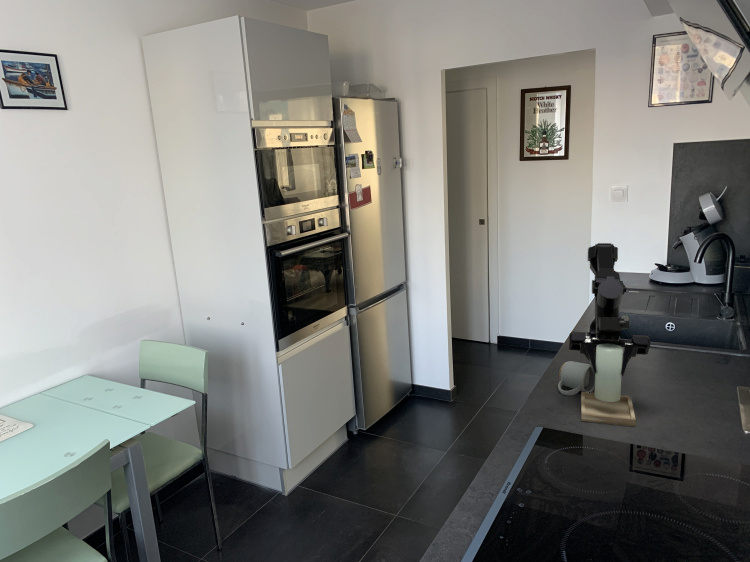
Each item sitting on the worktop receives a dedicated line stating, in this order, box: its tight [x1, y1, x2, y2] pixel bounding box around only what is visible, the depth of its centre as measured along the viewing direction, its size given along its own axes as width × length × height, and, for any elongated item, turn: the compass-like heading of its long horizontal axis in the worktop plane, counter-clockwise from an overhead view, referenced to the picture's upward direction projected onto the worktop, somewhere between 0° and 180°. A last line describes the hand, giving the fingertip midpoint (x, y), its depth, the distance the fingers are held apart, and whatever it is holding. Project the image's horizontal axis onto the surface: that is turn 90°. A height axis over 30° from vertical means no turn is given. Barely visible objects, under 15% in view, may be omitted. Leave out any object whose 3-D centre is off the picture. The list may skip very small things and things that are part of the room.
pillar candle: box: [593, 344, 624, 402], centre depth 139 cm, size 6×6×13 cm
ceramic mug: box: [557, 360, 595, 397], centre depth 154 cm, size 11×8×8 cm
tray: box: [580, 391, 637, 428], centre depth 141 cm, size 14×12×2 cm
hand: (608, 374), depth 138 cm, fingers closed on pillar candle, 6 cm apart
